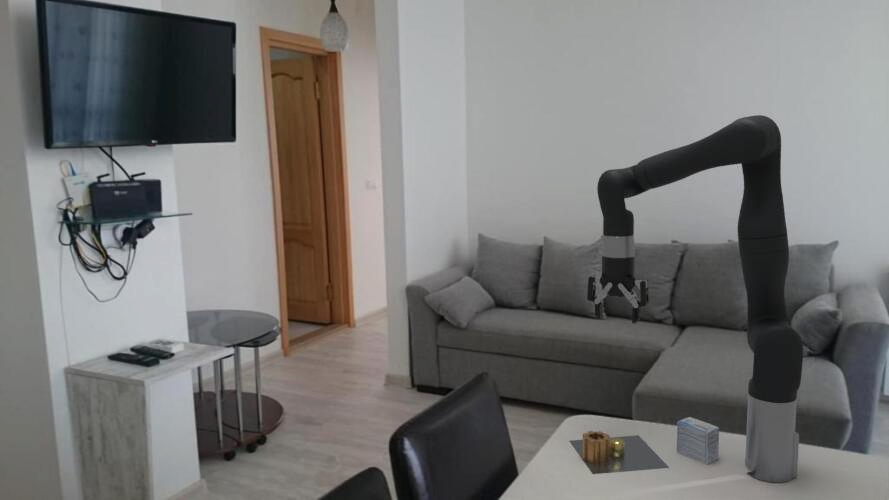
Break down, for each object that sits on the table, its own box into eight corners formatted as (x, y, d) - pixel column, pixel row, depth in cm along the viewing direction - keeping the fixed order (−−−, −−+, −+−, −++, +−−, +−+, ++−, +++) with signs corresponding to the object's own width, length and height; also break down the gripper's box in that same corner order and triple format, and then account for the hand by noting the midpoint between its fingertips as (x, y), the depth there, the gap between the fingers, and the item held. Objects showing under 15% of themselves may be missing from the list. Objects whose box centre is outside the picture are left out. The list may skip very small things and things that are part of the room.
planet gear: (602, 450, 159) (602, 429, 158) (614, 461, 153) (615, 440, 153) (577, 453, 158) (577, 432, 157) (589, 465, 152) (589, 443, 151)
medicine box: (718, 464, 154) (720, 426, 152) (706, 470, 151) (707, 432, 150) (688, 452, 160) (689, 415, 159) (675, 457, 158) (676, 420, 156)
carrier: (638, 440, 167) (638, 421, 166) (669, 472, 150) (669, 452, 150) (569, 445, 165) (569, 426, 164) (592, 479, 148) (592, 458, 148)
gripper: (583, 254, 166) (583, 321, 168) (643, 258, 158) (642, 327, 161) (594, 249, 172) (593, 314, 174) (652, 253, 165) (651, 320, 167)
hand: (617, 320), depth 168 cm, fingers open, 8 cm apart
